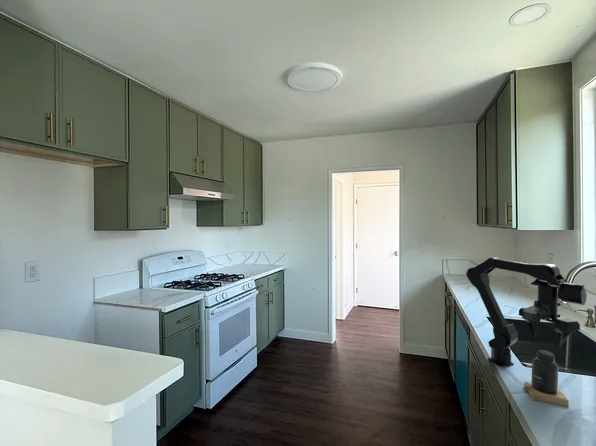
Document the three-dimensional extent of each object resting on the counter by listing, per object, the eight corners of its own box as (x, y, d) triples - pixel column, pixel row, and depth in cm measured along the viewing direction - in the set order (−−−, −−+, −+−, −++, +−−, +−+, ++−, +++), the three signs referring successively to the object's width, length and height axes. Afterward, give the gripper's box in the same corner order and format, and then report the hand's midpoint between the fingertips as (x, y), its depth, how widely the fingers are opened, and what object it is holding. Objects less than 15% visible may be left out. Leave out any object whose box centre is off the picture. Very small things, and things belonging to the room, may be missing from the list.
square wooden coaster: (524, 386, 110) (524, 380, 110) (556, 391, 108) (556, 385, 108) (533, 400, 102) (533, 394, 102) (568, 406, 99) (568, 399, 99)
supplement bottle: (530, 389, 105) (530, 352, 104) (532, 381, 110) (533, 346, 110) (557, 397, 100) (558, 359, 100) (558, 388, 105) (559, 352, 105)
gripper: (506, 294, 124) (506, 334, 124) (554, 306, 106) (553, 354, 106) (531, 292, 126) (530, 332, 127) (581, 305, 108) (580, 351, 108)
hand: (546, 341), depth 117 cm, fingers open, 9 cm apart
